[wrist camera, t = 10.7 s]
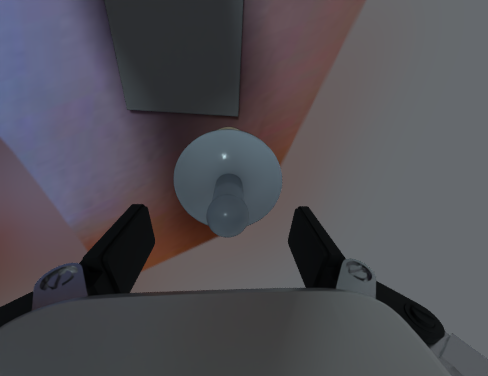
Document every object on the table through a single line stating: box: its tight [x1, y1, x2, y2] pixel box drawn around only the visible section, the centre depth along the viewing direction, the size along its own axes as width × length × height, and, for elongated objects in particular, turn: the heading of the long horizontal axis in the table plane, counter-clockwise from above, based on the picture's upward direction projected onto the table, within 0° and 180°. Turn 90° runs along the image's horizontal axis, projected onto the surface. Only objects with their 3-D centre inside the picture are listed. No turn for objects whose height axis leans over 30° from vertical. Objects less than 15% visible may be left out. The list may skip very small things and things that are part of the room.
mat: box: [104, 0, 243, 116], centre depth 22 cm, size 16×16×1 cm
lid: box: [174, 129, 282, 237], centre depth 15 cm, size 11×11×8 cm
